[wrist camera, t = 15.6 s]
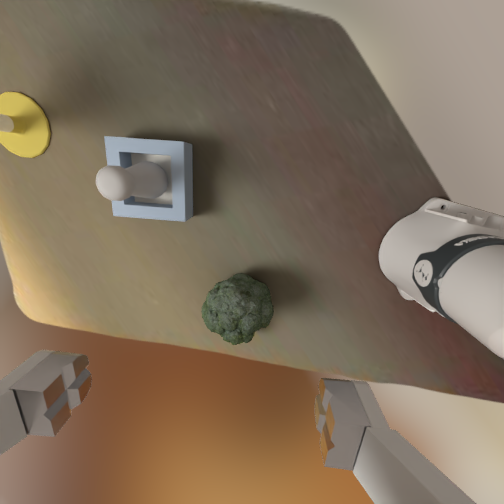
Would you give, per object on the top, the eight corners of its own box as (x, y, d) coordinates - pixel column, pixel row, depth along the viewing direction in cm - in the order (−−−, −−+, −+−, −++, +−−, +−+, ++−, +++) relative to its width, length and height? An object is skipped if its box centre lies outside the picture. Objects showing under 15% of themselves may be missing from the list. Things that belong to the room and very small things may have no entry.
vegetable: (202, 337, 51) (179, 294, 40) (244, 295, 57) (234, 248, 46) (246, 377, 44) (233, 338, 34) (288, 325, 50) (287, 278, 40)
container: (192, 144, 41) (183, 141, 37) (193, 216, 45) (185, 221, 41) (121, 139, 41) (104, 136, 37) (127, 211, 45) (113, 215, 41)
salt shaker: (179, 184, 42) (143, 190, 30) (155, 203, 43) (110, 217, 31) (156, 153, 41) (108, 147, 28) (131, 175, 42) (76, 178, 30)
